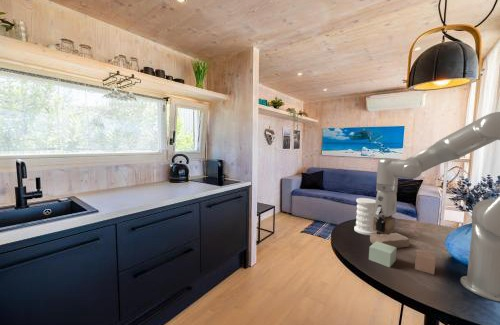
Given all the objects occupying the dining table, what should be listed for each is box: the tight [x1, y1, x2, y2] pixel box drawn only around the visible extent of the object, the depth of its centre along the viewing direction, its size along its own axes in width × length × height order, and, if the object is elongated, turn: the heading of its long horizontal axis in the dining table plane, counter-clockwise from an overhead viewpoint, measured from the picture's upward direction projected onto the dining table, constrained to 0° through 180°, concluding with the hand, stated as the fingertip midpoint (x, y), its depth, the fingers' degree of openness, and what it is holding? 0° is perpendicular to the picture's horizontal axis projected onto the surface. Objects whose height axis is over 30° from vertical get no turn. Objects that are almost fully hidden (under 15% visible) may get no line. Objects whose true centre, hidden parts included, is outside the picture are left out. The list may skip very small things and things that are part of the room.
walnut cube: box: [373, 213, 396, 235], centre depth 94 cm, size 6×6×6 cm
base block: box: [368, 241, 398, 268], centre depth 96 cm, size 8×8×6 cm
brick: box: [369, 232, 410, 249], centre depth 110 cm, size 16×8×5 cm, turn 102°
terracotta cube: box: [414, 249, 436, 275], centre depth 89 cm, size 6×6×6 cm
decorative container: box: [353, 197, 378, 236], centre depth 126 cm, size 12×12×18 cm
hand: (383, 228), depth 95 cm, fingers closed on walnut cube, 6 cm apart
